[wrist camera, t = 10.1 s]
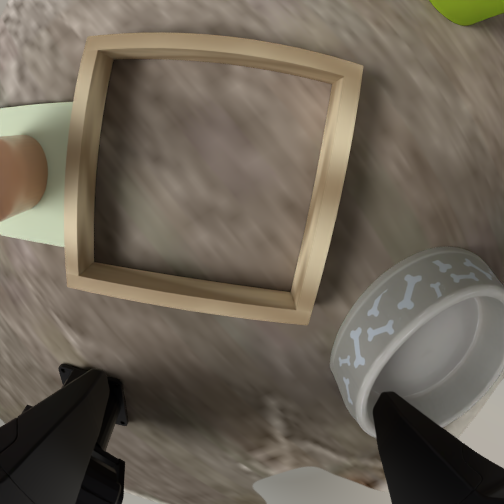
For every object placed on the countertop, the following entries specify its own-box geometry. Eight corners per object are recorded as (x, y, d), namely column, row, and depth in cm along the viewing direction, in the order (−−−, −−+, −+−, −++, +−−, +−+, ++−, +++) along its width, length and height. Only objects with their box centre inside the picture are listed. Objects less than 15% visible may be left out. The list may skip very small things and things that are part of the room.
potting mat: (70, 244, 19) (66, 247, 19) (-9, 230, 19) (-13, 232, 18) (79, 102, 16) (75, 101, 16) (-6, 110, 15) (-10, 110, 15)
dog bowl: (366, 431, 28) (380, 469, 23) (296, 317, 22) (310, 363, 17) (492, 352, 25) (517, 379, 20) (475, 208, 20) (520, 226, 15)
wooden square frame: (301, 306, 21) (307, 325, 19) (83, 272, 20) (67, 287, 18) (348, 74, 16) (363, 65, 14) (103, 46, 15) (87, 36, 13)
